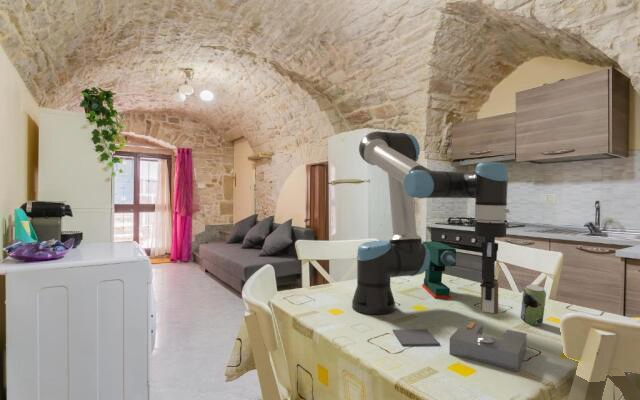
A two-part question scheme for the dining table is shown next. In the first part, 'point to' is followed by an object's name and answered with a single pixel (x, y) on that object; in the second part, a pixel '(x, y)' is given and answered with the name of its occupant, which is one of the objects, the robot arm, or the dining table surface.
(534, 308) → the beverage can
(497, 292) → the wooden block
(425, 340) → the mat
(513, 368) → the peg insertion board
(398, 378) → the dining table surface
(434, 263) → the power tool
